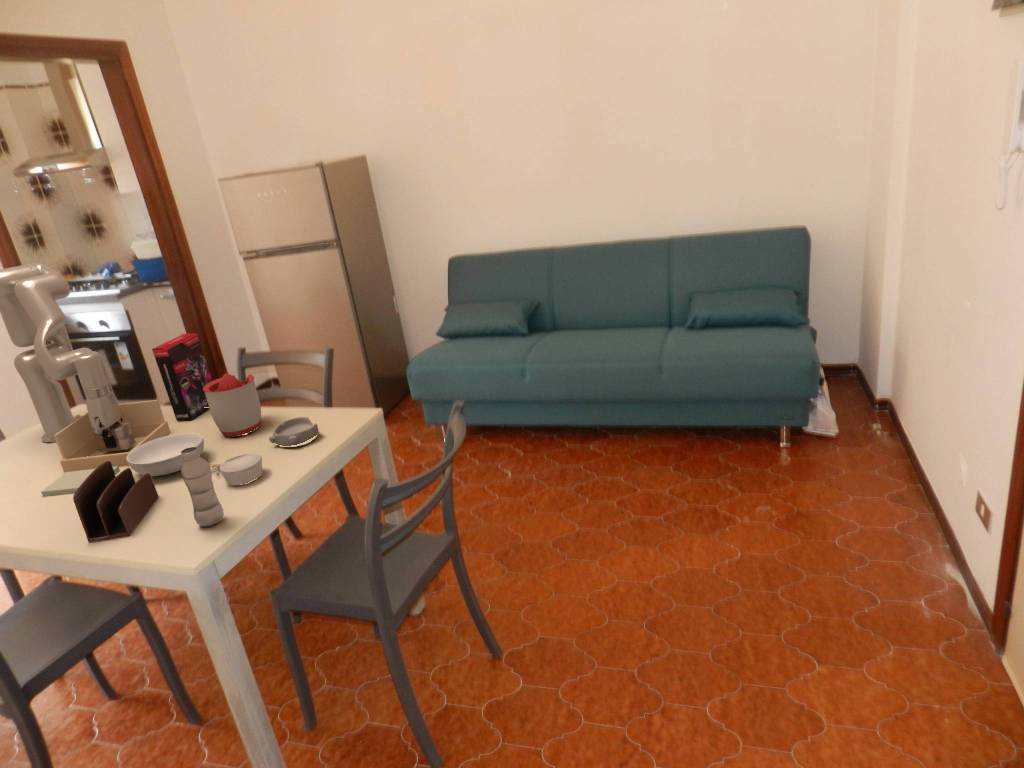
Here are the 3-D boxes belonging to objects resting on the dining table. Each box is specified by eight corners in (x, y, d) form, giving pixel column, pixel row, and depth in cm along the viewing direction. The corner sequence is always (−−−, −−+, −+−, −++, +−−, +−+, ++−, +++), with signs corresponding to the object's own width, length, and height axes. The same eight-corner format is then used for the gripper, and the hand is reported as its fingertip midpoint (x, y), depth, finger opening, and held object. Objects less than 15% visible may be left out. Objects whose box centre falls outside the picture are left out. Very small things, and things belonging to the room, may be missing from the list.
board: (68, 476, 208) (66, 472, 207) (119, 470, 207) (118, 466, 206) (42, 496, 196) (40, 491, 196) (97, 490, 196) (95, 485, 195)
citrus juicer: (278, 418, 232) (264, 362, 225) (249, 440, 217) (232, 381, 210) (238, 418, 236) (223, 364, 229) (206, 441, 221) (189, 383, 214)
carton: (107, 439, 233) (95, 406, 229) (170, 432, 232) (160, 399, 228) (64, 472, 210) (50, 437, 206) (134, 464, 210) (121, 429, 205)
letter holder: (88, 543, 168) (68, 493, 163) (122, 503, 186) (105, 456, 182) (130, 536, 169) (111, 486, 164) (159, 497, 187) (143, 450, 182)
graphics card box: (191, 421, 239) (168, 347, 230) (174, 422, 241) (150, 348, 232) (220, 402, 255) (199, 332, 246) (203, 403, 257) (182, 333, 247)
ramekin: (255, 465, 199) (250, 449, 197) (273, 475, 191) (268, 458, 189) (217, 481, 192) (212, 464, 190) (234, 493, 184) (229, 475, 182)
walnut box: (108, 445, 223) (101, 425, 221) (135, 442, 223) (128, 422, 221) (99, 452, 219) (92, 432, 216) (127, 449, 219) (120, 429, 216)
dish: (302, 427, 222) (298, 413, 220) (330, 434, 214) (326, 419, 212) (264, 446, 211) (260, 431, 210) (292, 454, 203) (288, 439, 202)
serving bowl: (224, 453, 210) (218, 432, 208) (172, 487, 192) (164, 465, 189) (171, 450, 217) (165, 430, 215) (116, 483, 199) (109, 461, 197)
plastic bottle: (202, 518, 173) (179, 446, 166) (229, 514, 173) (207, 442, 166) (193, 532, 167) (169, 458, 160) (221, 527, 167) (198, 453, 160)
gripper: (101, 382, 222) (119, 433, 229) (70, 402, 206) (90, 456, 213) (124, 380, 222) (141, 431, 228) (94, 400, 206) (113, 454, 212)
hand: (116, 443), depth 220 cm, fingers closed on walnut box, 5 cm apart
